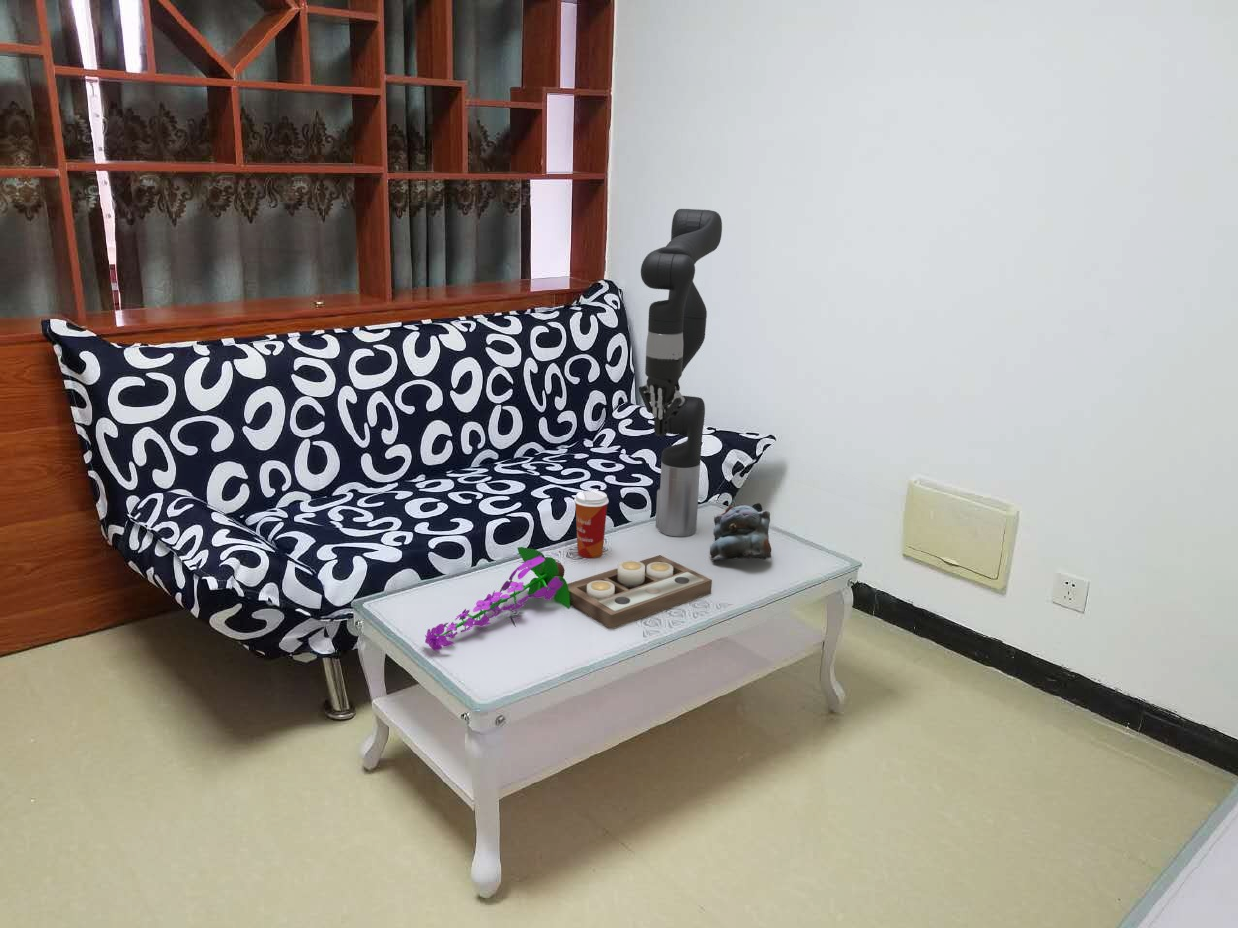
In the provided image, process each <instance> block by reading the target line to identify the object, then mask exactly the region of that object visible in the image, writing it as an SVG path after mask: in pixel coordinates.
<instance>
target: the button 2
mask: <svg viewBox="0 0 1238 928" xmlns="http://www.w3.org/2000/svg"><path fill="white" fill-rule="evenodd" d="M646 574H648V575H650V576H652V577H654V578H656V579H658V580H660V579H663V578H666V577H669V576H672V575H673V566H672V565H670V564H668V563H664V562H653V563H650V564H648V565H647V570H646Z"/></svg>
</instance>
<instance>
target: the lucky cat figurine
mask: <svg viewBox="0 0 1238 928" xmlns="http://www.w3.org/2000/svg"><path fill="white" fill-rule="evenodd" d="M713 522H714V527H713V533H712V534H713V536H714V541H713V543H712V544H711V545H710V547H709V555H710V557H711V559H710V560H711V561H713V562H718V561H725V560H737V559H762V560H766V559H770V558H772V547H771V543H770V541H769V531H770V523H771V512H769V510H763V506H762V504H761V503H759V502H757V503H754V504H752V505H739V506H738V505H737V506H735V507H734V506H728V507H727V508H726V510H725V512H724V513H721V514H720V513H718V514H717V515H716V516H715V515H714V516H713Z"/></svg>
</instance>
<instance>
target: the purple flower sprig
mask: <svg viewBox="0 0 1238 928" xmlns="http://www.w3.org/2000/svg"><path fill="white" fill-rule="evenodd" d="M516 549H517V551H518V554H519V555H520V557H521V559H522V561H523V563H521V564H520V565H519V566H518V567H517V568H516V569H515V570H514V571H512V573H510V576H509V577H508V580H507V579H506V581H505V582H504V583H503V585H502V586H501V588H500V590H499V591H496V590H494V591H493V592H492V594H491V593H488V594H487V595H486V597H485V598H484V599H483V600H482V599H479V600H477V601H476V602H475V605H476V606H474V607H473V609H472V612H473V613H476V612H477V613H476V614H475V615H471V614H470V611H471V609H468V610H467V608H465V609H463V611H462V612H461V613H460V614H458V615H456V618H454V621H457V620H458V619H459V621H460V620H461V622H459V623H455V622H454V621H452V622H450V624H449V622H445V623H439V624H438V625H437V626H435V627H432V628H428V629H427V630H426V634H424V636H425V640H424V643H425V644H427V645H428V646H429V647H430V648H431V650H434V651H439V650H442V649H443V647H450V646H451V645H453V644H454V643H455V642H454V641H453V640H448V639H447V638H451V639H454V638H455V637H456V636H457V635H458V634H459V632H458V629H459V628H460V627H462V626H463V627H464V629H462V630H460V632H461V633H465V632H468V631H469V630H471V629H472V628H473V626H475V627H476V626H477V627H478V626H479V627H483V626H488V625H490V624H491V622H489V621H490V619H492V618H493V617H497V616H499V614H501V613H502V612H503V611H509V610H512V611H515V610H518V609H520V608H523V607H524V606H525V602H527V601H528V600H529V598H536V599H540V598H543V599H544V600H547V601H549V600H551V599H552V598H554V600H555V602H557V603H559V604H560V605H562V606H563V607H565V608H566V609H568V610H570V606H571V605H570V597H569V588H568V585H567V584H568V582H567V581H566V579H565V578H564V576H565V571H566V570H565V567H564V565H563V564H562V563H561V562H558V561H556V558H553V557H549V556H545V555H544V553H543V552H541V551H539V550H537V549H534V548H528V547H524V546H519V547H517V548H516ZM530 571H532V572H533V573H534V575H535V576H536V577H533V578H532V579H531V580H530V582H529V583H527V584H525V585H524V582H523V581H521V582H518V581H513V578H514V577H515V575H516V574H517V572H519V573H518V574H517V579H518V580H521V579H523V578H524V577H525V576H526V575H527V574H528V573H529V572H530ZM525 590H528V591H527V595H526V596H524V597H522V598H520V599H518V600H517V597H516V596H518V595H519V594H521V593H523V592H524V591H525ZM502 591H503V592H505V591H506V593H504V594H503V592H502ZM509 593H510V594H509ZM511 593H512V594H511ZM512 598H513V601H514V603H512V604H508V605H503V606H502V607H501V608H500V605H501V604H504V603H507V602H508V600H511V599H512ZM489 612H492V613H493V614H492V615H491V616H488V615H487V614H486V613H489ZM467 617H468V618H467ZM466 618H467V619H466ZM447 625H448V626H447ZM445 628H446V629H445ZM453 631H454V632H453Z"/></svg>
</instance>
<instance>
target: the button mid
mask: <svg viewBox="0 0 1238 928" xmlns="http://www.w3.org/2000/svg"><path fill="white" fill-rule="evenodd" d="M617 568H618V577H617V580H618V581H619V582H620V583H622V584H625V585H639V584H642V583H643V582H644V581H645V565H644V564H643V563H641V562H639V560H638V561H637V560H623V561H621V562H619V563H618V564H617Z"/></svg>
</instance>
